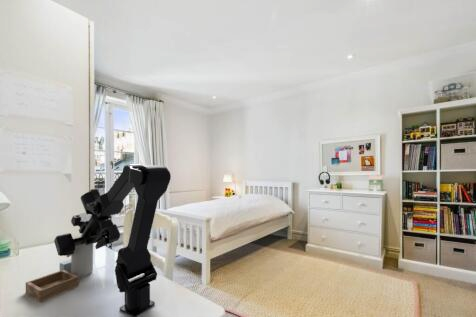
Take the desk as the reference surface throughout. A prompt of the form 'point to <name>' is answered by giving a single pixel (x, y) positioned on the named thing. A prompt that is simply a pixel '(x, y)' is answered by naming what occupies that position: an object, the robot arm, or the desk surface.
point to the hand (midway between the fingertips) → (82, 251)
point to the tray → (51, 285)
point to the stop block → (66, 265)
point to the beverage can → (82, 260)
